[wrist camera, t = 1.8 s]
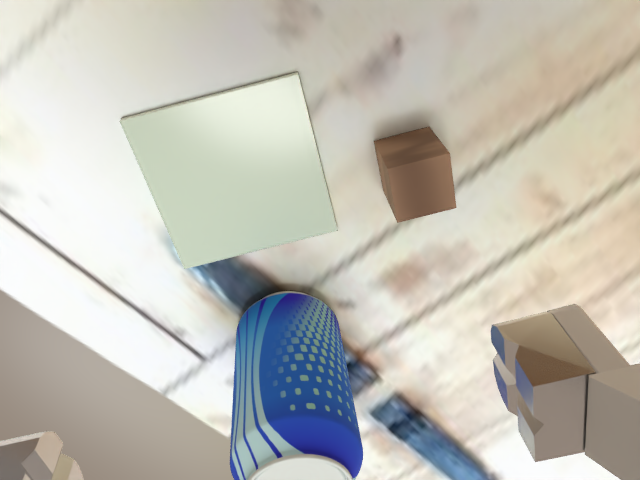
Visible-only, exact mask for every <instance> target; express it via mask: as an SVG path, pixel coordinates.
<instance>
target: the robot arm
mask: <svg viewBox="0 0 640 480" xmlns="http://www.w3.org/2000/svg"><path fill="white" fill-rule="evenodd" d="M491 340H492V343H493V345H494V347H495V349H496V351H497V352H498V353H497V355H496V356H495V358H494V359H493V364H494V373H495V377H496V381H497V385H498V389H499V391H500V394H501V396H502V399H503V401H504V403H505V405H506V407H507V409H508V411H510V412H512V413H513V414H515V415H517V416H518V428H519V432H520V434H521V436H522V438H523V440H524V442H525V444H526V446H527V448H528V449H529V451H530V453H531V455H532V457H533V459H534V461H535V462H538V461H543V460H548V459H553V458H558V457H562V456H567V455H572V454H577V453H582V452H585V455H586V456H588V457H589V458H591V459H592V460H594V461H595V462H596V463H598V464H599V465H601V466H602V467H604V468H605V469H607V470H608V471H609V472H611V473H612V474H614V475H615V476H617V477H618V478H619V479H621V480H640V364H635V365H629V363H628V362H627V361H626V360H625V359H624V358H623V356H622V355H621V354H620V353H619V352H618V351H617V349H616V348H615V347H614V346H613V345H612V343H611V342H610V341H609V340H608V339H607V338H606V336H605V335H604V334H603V333H602V332H601V330H600V329H599V328H598V327H597V326H596V325H595V323H594V322H593V321H592V320H591V319H590V318H589V316H588V315H587V314H586V313H585V312H584V310H583V309H582V308H581V307H580V306H578V305H576V304H573V305H569V306H565V307H561V308H557V309H553V310H549V311H547V312H542V313H538V314H534V315H530V316H526V317H522V318H518V319H514V320H510V321H506V322H502V323H498V324H494V325H492V328H491ZM62 446H63V443H62V441H61V440H60V439H59V437H58V436H57V435H56V434H55V432H41V433H37V434H32V435H27V436H23V437H18V438H13V439H9V440H4V441H0V480H84V479H83V476H82V473H81V469H80V467H79V466H78V464H77V463H76V461H75V460H74V459H72V458H70V457H68V456H66V455H64V454H61V450H62Z"/></svg>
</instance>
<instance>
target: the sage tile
mask: <svg viewBox="0 0 640 480" xmlns="http://www.w3.org/2000/svg"><path fill="white" fill-rule="evenodd" d="M120 123H121V125H122V128H123V130H124V132H125V134H126V137H127V139H128V141H129V144H130V146H131V148H132V150H133V153H134V155H135V157H136V159H137V162H138V164H139V166H140V169H141V171H142V173H143V175H144V178H145V180H146V182H147V185H148V187H149V189H150V191H151V194H152V196H153V198H154V201H155V203H156V205H157V207H158V210H159V212H160V214H161V217H162V219H163V221H164V223H165V226H166V228H167V230H168V233H169V235H170V237H171V239H172V242H173V244H174V246H175V248H176V251H177V253H178V255H179V258H180V260H181V262H182V264H183V267H184V269H187V268H191V267H195V266H199V265H203V264H207V263H211V262H214V261H218V260H222V259H226V258H230V257H234V256H238V255H242V254H246V253H250V252H254V251H258V250H262V249H266V248H270V247H274V246H278V245H282V244H286V243H290V242H294V241H298V240H302V239H306V238H310V237H314V236H318V235H322V234H326V233H330V232H334V231H338V230H337V225H336V222H335V218H334V214H333V210H332V206H331V202H330V198H329V194H328V190H327V186H326V182H325V178H324V174H323V170H322V166H321V162H320V158H319V154H318V150H317V146H316V142H315V138H314V134H313V130H312V127H311V123H310V119H309V115H308V111H307V107H306V103H305V99H304V95H303V91H302V87H301V83H300V79H299V75H298V72H296V73H292V74H288V75H284V76H281V77H277V78H273V79H269V80H265V81H262V82H258V83H254V84H250V85H246V86H243V87H239V88H235V89H231V90H227V91H223V92H220V93H216V94H212V95H208V96H204V97H201V98H197V99H193V100H189V101H185V102H182V103H178V104H174V105H170V106H166V107H163V108H159V109H155V110H151V111H147V112H144V113H140V114H136V115H132V116H128V117H125V118H122V119H121V120H120Z"/></svg>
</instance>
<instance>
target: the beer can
mask: <svg viewBox="0 0 640 480" xmlns="http://www.w3.org/2000/svg"><path fill="white" fill-rule="evenodd" d="M362 460H363V448H362V443H361V438H360V432H359V427H358V422H357V417H356V412H355V406H354V401H353V396H352V391H351V386H350V381H349V375H348V370H347V365H346V360H345V355H344V349H343V344H342V339H341V334H340V329H339V324H338V321H337V318H336V316H335V314H334V313H333V311H332V310H331V309H330V308H329V307H328V306H327V305H326V304H325V303H324V302H322V301H321V300H319V299H317V298H315V297H312V296H310V295H308V294H305V293H302V292H297V291H282V292H277V293H273V294H270V295H268V296H266V297H264V298H262V299H261V300H259V301H257V302H256V303H254V304H253V305H252V306H251V307H249V308H248V309H247V310H246V312H245V313H244V314H243V316H242V317H241V319H240V321H239V324H238V327H237V332H236V352H235V371H234V391H233V410H232V429H231V449H230V468H231V473H232V475H233V478H234V480H355V479H356V477H357V475H358V473H359V471H360V468H361V465H362Z"/></svg>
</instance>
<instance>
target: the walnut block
mask: <svg viewBox="0 0 640 480" xmlns="http://www.w3.org/2000/svg"><path fill="white" fill-rule="evenodd" d="M374 145H375V150H376V155H377V160H378V165H379V171H380V176H381V181H382V186H383V191H384V193H385V195H386V198H387V200H388V202H389V204H390V207H391V209H392V211H393V214H394V216H395V218H396V220H397V223H398V222H402V221H406V220H410V219H414V218H418V217H422V216H426V215H430V214H434V213H438V212H442V211H446V210H450V209H454V208H456V201H455V193H454V185H453V176H452V168H451V160H450V153H449V152H448V150H447V149H446V148H445V146H444V145H443V144H442V143H441V141H440V140H439V139H438V137H437V136H436V135H435V134H434V132H433V131H432V130H431V128H430V127H426V128H422V129H418V130H414V131H410V132H406V133H403V134H399V135H395V136H391V137H387V138H383V139H379V140H375V141H374Z"/></svg>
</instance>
